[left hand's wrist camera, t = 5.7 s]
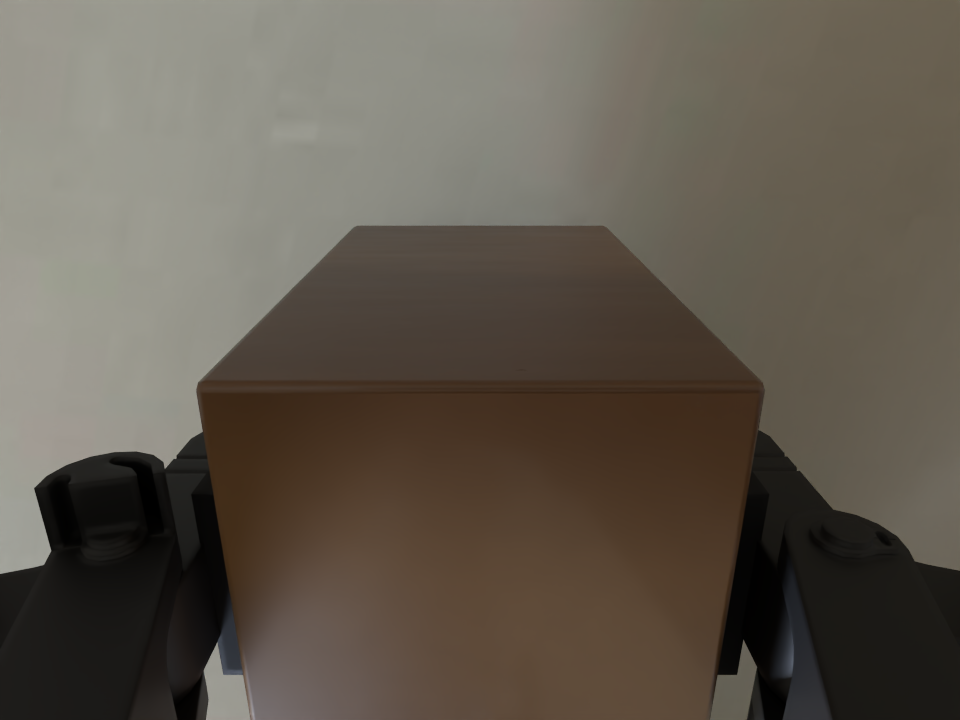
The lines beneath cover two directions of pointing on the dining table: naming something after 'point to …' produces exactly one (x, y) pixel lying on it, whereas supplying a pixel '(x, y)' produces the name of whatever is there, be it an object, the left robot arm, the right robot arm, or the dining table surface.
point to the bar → (480, 483)
